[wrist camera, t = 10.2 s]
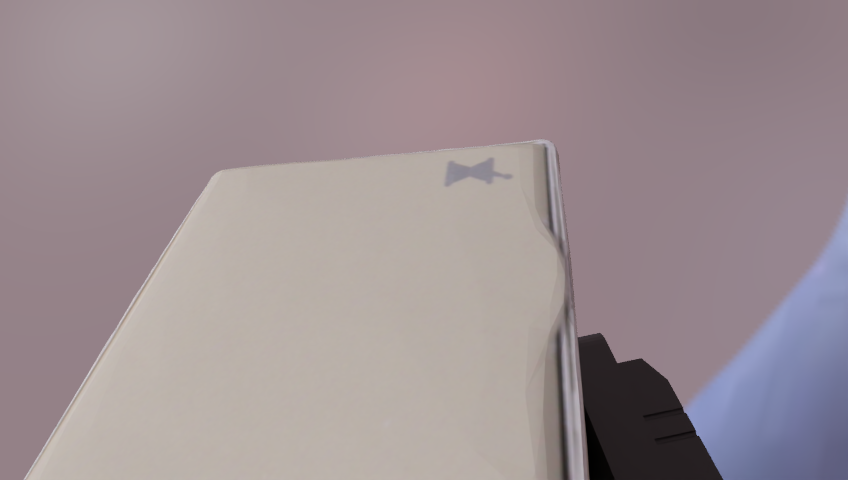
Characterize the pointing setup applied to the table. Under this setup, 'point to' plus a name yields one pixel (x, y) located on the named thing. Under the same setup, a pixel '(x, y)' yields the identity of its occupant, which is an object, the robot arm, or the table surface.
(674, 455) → the robot arm
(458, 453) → the box
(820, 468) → the table surface
